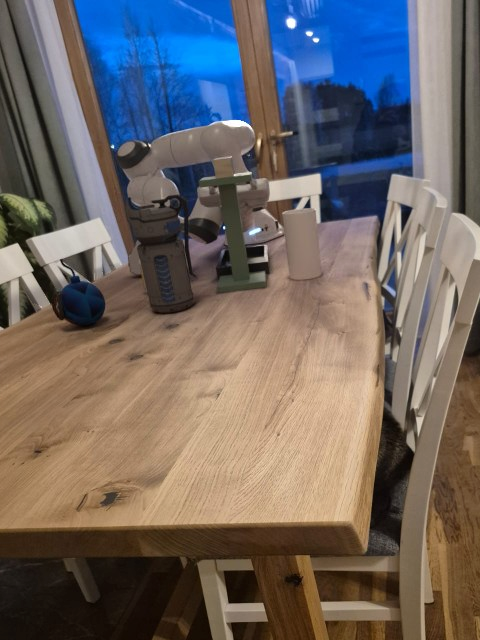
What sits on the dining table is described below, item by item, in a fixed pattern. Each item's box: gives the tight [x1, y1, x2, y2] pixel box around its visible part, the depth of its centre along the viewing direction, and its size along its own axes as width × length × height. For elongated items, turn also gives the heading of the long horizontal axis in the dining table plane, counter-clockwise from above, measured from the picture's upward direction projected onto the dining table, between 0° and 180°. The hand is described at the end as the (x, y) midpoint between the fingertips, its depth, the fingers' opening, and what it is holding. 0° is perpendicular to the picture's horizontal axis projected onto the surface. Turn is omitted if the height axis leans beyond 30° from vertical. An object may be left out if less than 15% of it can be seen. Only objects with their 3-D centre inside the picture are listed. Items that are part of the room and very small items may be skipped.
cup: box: [281, 207, 323, 281], centre depth 145 cm, size 8×8×16 cm
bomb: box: [50, 258, 106, 327], centre depth 126 cm, size 10×11×15 cm
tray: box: [215, 244, 271, 281], centre depth 166 cm, size 26×14×3 cm, turn 3°
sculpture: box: [127, 239, 141, 276], centre depth 176 cm, size 11×18×12 cm
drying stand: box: [198, 171, 267, 294], centre depth 142 cm, size 12×12×26 cm
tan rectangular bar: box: [212, 156, 235, 179], centre depth 141 cm, size 22×4×4 cm, turn 3°
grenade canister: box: [124, 194, 198, 314], centre depth 129 cm, size 10×13×25 cm
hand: (230, 179), depth 156 cm, fingers open, 8 cm apart
